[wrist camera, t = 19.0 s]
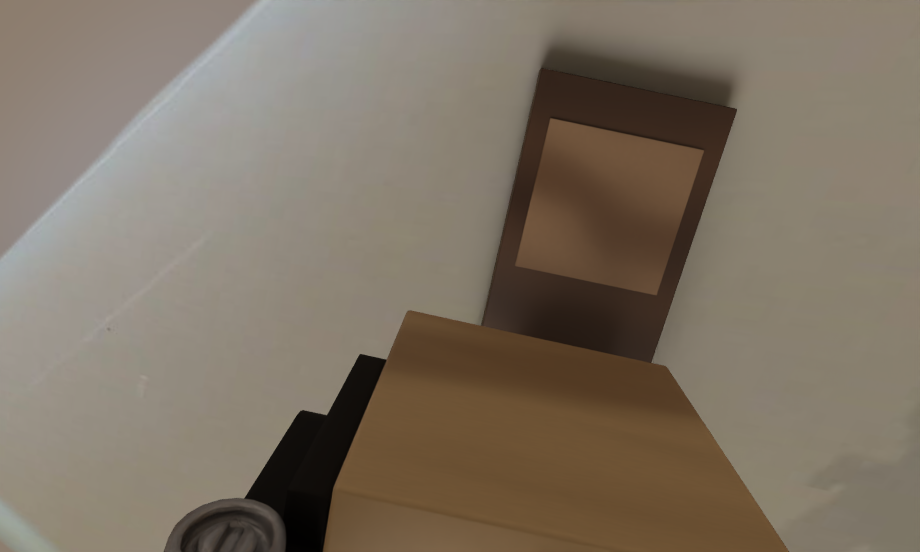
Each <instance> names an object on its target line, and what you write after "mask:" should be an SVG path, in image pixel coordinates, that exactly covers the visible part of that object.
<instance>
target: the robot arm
mask: <svg viewBox="0 0 920 552" xmlns="http://www.w3.org/2000/svg"><path fill="white" fill-rule="evenodd" d="M385 363H386V360H385V359H381V358H376V357H372V356H367V355H362V354H360V355H359V357H358V358H357V360H356V362H355V364H354V366H353V368H352V370H351V372H350V373H349V375H348V377H347V379H346V381H345V383H344V385H343V386H342V388H341V390H340V392H339V394H338V396H337V398H336V400H335V401H334V403H333V405H332V407H331V409H330V411H329V413H328V414H327V415H323V414H318V413H314V412H309V411H304V410H302V411H300V412H299V414H298V415H297V416H296V418H295V419H294V421H293V422H292V424H291V426H290V427H289V429H288V430H287V432H286V434H285V435H284V437H283V438H282V440H281V441H280V443H279V445H278V446H277V448H276V449H275V451H274V452H273V454H272V456H271V457H270V459H269V460H268V462H267V464H266V465H265V467H264V468H263V470H262V471H261V473H260V475H259V476H258V478H257V479H256V481H255V483H254V484H253V486H252V487H251V489H250V490H249V492H248V494H247V495H246V497H245V498H244V499H242V498H232V499H222V500H217V501H214V502H211V503H208V504H204V505H202V506H200V507H198V508H197V509H195V510H193V511H191V512H190V513H188V514H187V515H186V516H185V517H184V518H183V519H181V520H180V521H179V522H178V523H177V524H176V525H175V527H174V529H173V531H172V532H171V534H170V536H169V538H168V541H167V543H166V546H165V549H164V552H323V547H324V541H325V535H326V529H327V523H328V517H329V511H330V505H331V499H332V493H333V487H334V485H335V482H336V480H337V478H338V475H339V473H340V470H341V468H342V466H343V463H344V461H345V458H346V456H347V454H348V451H349V449H350V447H351V444H352V442H353V439H354V437H355V435H356V432H357V430H358V427H359V425H360V423H361V420H362V418H363V415H364V413H365V411H366V408H367V406H368V403H369V401H370V399H371V396H372V394H373V392H374V389H375V387H376V384H377V382H378V380H379V377H380V375H381V372H382V370H383V368H384V365H385Z"/></svg>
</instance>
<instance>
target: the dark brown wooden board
mask: <svg viewBox="0 0 920 552" xmlns="http://www.w3.org/2000/svg"><path fill="white" fill-rule="evenodd" d="M736 112H737V109H735V108H730V107H725V106H720V105H716V104H711V103H706V102H701V101H697V100H692V99H687V98H682V97H678V96H673V95H668V94H663V93H659V92H654V91H649V90H644V89H639V88H635V87H630V86H625V85H620V84H616V83H611V82H606V81H601V80H597V79H592V78H587V77H582V76H578V75H573V74H568V73H563V72H558V71H554V70H549V69H544V68H542V69H541V70H540V71H539V75H538V79H537V84H536V88H535V92H534V97H533V101H532V106H531V110H530V114H529V119H528V123H527V127H526V132H525V136H524V141H523V145H522V149H521V154H520V158H519V162H518V167H517V171H516V176H515V180H514V184H513V189H512V193H511V197H510V202H509V206H508V210H507V215H506V219H505V224H504V228H503V232H502V237H501V241H500V245H499V250H498V254H497V259H496V263H495V267H494V272H493V276H492V280H491V285H490V289H489V294H488V298H487V302H486V307H485V311H484V315H483V320H482V324H481V326H484V327H488V328H493V329H498V330H502V331H507V332H511V333H516V334H520V335H525V336H530V337H534V338H539V339H543V340H548V341H553V342H557V343H562V344H566V345H571V346H575V347H580V348H585V349H589V350H594V351H598V352H603V353H607V354H612V355H617V356H621V357H626V358H630V359H635V360H640V361H644V362H649V363H651V362H652V359H653V356H654V353H655V350H656V347H657V344H658V341H659V338H660V335H661V332H662V329H663V326H664V323H665V320H666V317H667V315H668V312H669V309H670V306H671V303H672V300H673V297H674V294H675V291H676V288H677V285H678V282H679V279H680V276H681V273H682V270H683V268H684V265H685V262H686V259H687V256H688V253H689V250H690V247H691V244H692V241H693V238H694V235H695V232H696V229H697V226H698V223H699V220H700V218H701V215H702V212H703V209H704V206H705V203H706V200H707V197H708V194H709V191H710V188H711V185H712V182H713V179H714V176H715V173H716V170H717V168H718V165H719V162H720V159H721V156H722V153H723V150H724V147H725V144H726V141H727V138H728V135H729V132H730V129H731V126H732V123H733V120H734V118H735V115H736Z"/></svg>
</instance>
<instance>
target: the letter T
mask: <svg viewBox="0 0 920 552" xmlns="http://www.w3.org/2000/svg"><path fill="white" fill-rule="evenodd" d="M323 552H789V551H788V549H787V548H786V546H785V545H784V543H783V542H782V540H781V539H780V537H779V536H778V534H777V533H776V531H775V530H774V528H773V527H772V525H771V524H770V522H769V521H768V519H767V518H766V516H765V515H764V513H763V511H762V510H761V508H760V507H759V505H758V504H757V502H756V501H755V499H754V498H753V496H752V495H751V493H750V492H749V490H748V489H747V487H746V486H745V484H744V483H743V481H742V480H741V478H740V477H739V475H738V474H737V472H736V471H735V469H734V468H733V466H732V465H731V463H730V462H729V460H728V459H727V457H726V456H725V454H724V453H723V451H722V450H721V448H720V447H719V445H718V444H717V442H716V440H715V439H714V437H713V436H712V434H711V433H710V431H709V430H708V428H707V427H706V425H705V424H704V422H703V421H702V419H701V418H700V416H699V415H698V413H697V412H696V410H695V409H694V407H693V406H692V404H691V403H690V401H689V400H688V398H687V397H686V395H685V394H684V392H683V391H682V389H681V388H680V386H679V385H678V383H677V382H676V380H675V379H674V377H673V376H672V374H671V373H670V371H669V369H668V368H667V367H666V366H662V365H658V364H653V363H649V362H644V361H640V360H635V359H630V358H626V357H621V356H617V355H612V354H607V353H603V352H598V351H594V350H589V349H585V348H580V347H575V346H571V345H566V344H562V343H557V342H553V341H548V340H543V339H539V338H534V337H530V336H525V335H520V334H516V333H511V332H507V331H502V330H498V329H493V328H488V327H484V326H479V325H475V324H470V323H466V322H461V321H456V320H452V319H447V318H443V317H438V316H433V315H429V314H424V313H420V312H415V311H407V313H406V315H405V317H404V320H403V322H402V325H401V327H400V329H399V332H398V334H397V336H396V339H395V341H394V344H393V346H392V348H391V351H390V353H389V356H388V358H387V360H386V363H385V365H384V368H383V370H382V372H381V375H380V377H379V380H378V382H377V384H376V387H375V389H374V392H373V394H372V396H371V399H370V401H369V403H368V406H367V408H366V411H365V413H364V415H363V418H362V420H361V423H360V425H359V427H358V430H357V432H356V435H355V437H354V439H353V442H352V444H351V447H350V449H349V451H348V454H347V456H346V458H345V461H344V463H343V466H342V468H341V470H340V473H339V475H338V478H337V480H336V482H335V485H334V487H333V493H332V499H331V505H330V511H329V517H328V523H327V529H326V535H325V541H324V547H323Z"/></svg>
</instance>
